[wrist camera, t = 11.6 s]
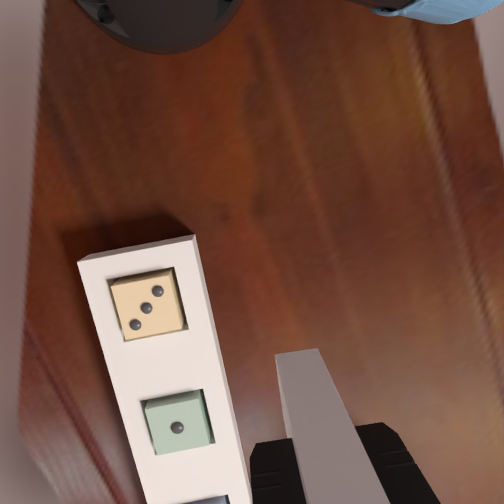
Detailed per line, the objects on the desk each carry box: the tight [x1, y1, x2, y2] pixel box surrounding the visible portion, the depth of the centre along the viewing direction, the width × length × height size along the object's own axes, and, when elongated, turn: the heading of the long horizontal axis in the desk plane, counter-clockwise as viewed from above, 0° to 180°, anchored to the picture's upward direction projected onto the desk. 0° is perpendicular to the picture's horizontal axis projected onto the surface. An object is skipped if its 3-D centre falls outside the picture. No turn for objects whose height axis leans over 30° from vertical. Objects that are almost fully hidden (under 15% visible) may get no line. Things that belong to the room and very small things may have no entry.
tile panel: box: [77, 234, 253, 504], centre depth 39 cm, size 34×10×3 cm, turn 10°
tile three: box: [111, 267, 186, 340], centre depth 36 cm, size 5×5×4 cm
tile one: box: [145, 389, 211, 456], centre depth 39 cm, size 5×5×4 cm
